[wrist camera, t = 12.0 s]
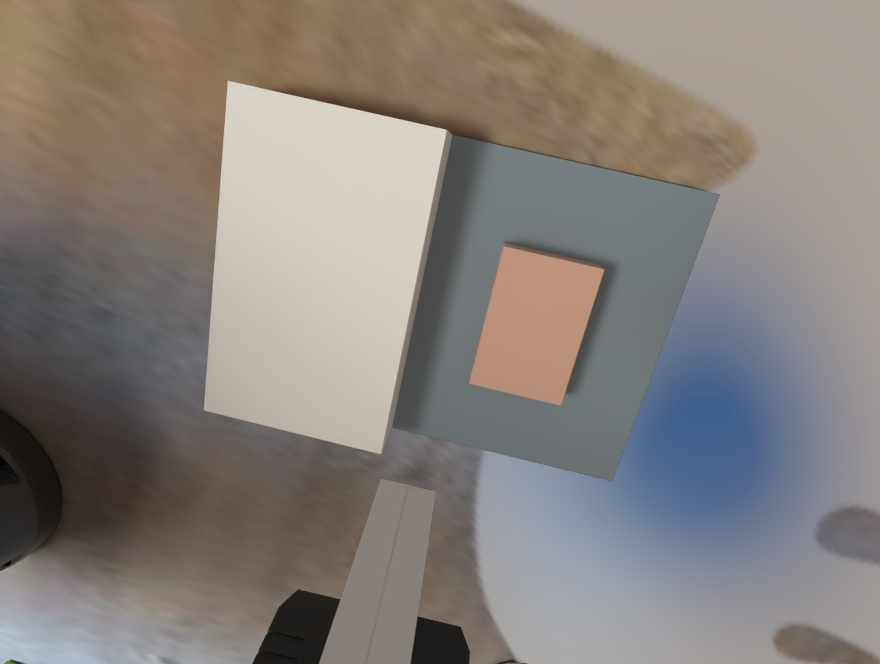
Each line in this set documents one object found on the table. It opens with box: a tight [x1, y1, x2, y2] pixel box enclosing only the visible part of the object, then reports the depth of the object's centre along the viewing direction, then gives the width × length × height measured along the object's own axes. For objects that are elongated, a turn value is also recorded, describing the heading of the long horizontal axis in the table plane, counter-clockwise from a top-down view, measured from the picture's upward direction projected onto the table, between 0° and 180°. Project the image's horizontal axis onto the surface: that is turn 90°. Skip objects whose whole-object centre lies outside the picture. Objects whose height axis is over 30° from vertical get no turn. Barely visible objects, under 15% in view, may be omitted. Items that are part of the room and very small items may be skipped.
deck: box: [204, 81, 452, 454], centre depth 32 cm, size 20×12×4 cm, turn 168°
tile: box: [469, 242, 604, 406], centre depth 32 cm, size 9×6×2 cm, turn 168°
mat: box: [392, 135, 719, 481], centre depth 33 cm, size 20×16×1 cm
